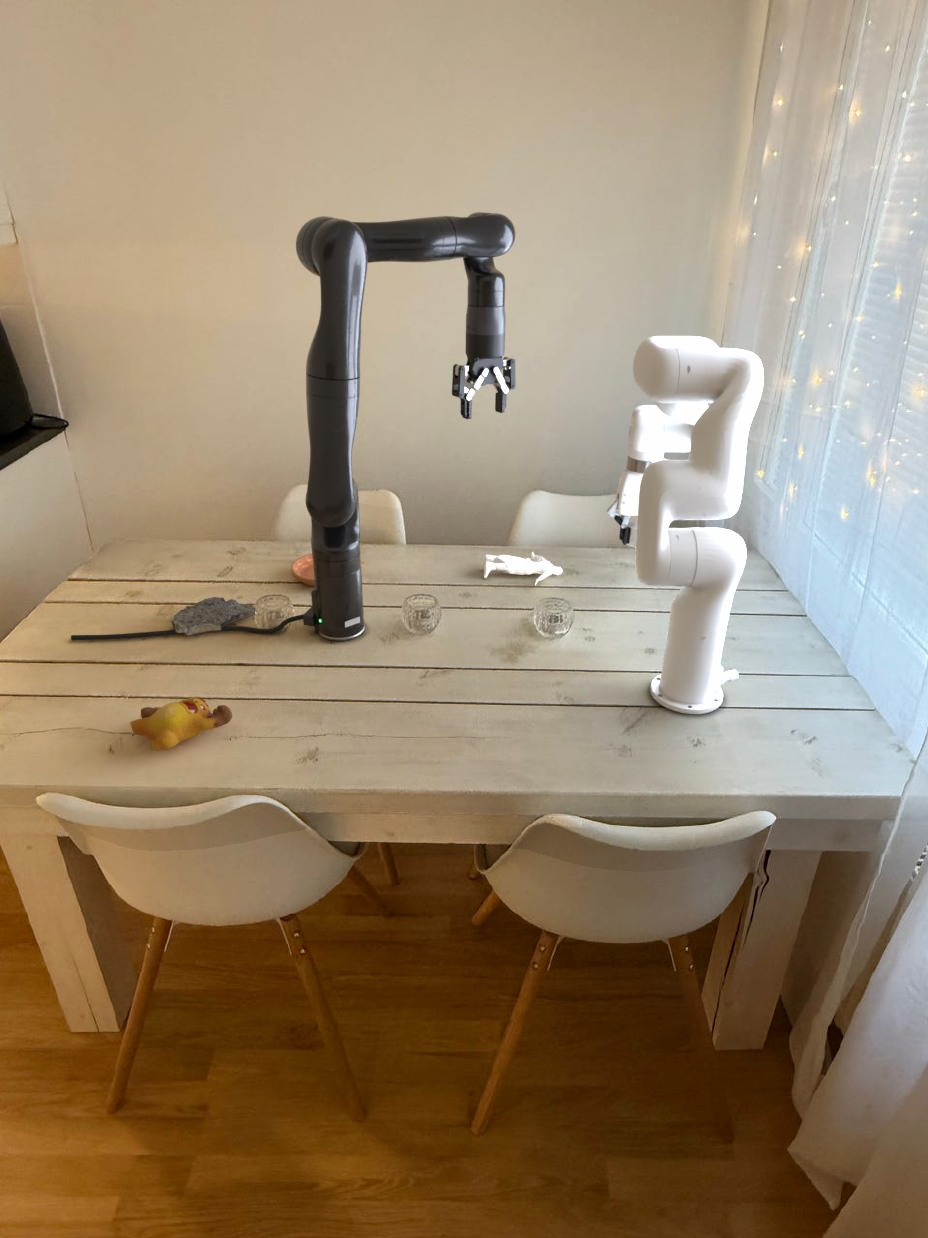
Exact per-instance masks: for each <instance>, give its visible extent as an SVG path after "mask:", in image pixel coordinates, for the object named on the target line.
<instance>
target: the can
mask: <svg viewBox="0 0 928 1238" xmlns="http://www.w3.org/2000/svg"><path fill="white" fill-rule="evenodd" d="M627 527H628V529H629V531H628V540H627V544H626V545H625V546H628V547H630V548H635V546H636V531H637V521H631V522H628V524H627Z"/></svg>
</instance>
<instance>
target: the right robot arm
mask: <svg viewBox="0 0 928 1238" xmlns="http://www.w3.org/2000/svg"><path fill="white" fill-rule="evenodd" d="M632 371H633V373H632V374H633V378H634V382H635V383H636V385H637V387H638V388H639V389H640V390H641V391H642V392H643V393H644V394H645V395H646V396H647V397H648V398H649V399H650V400H651V401H652V402H654V403H655V405H654V404H642V405H638V406H635V408H634V409H633V410H632V413H631V419H630V420H631V421H630V426H629V430H628V447H627V448H628V449H627V456H626V457H627V458H626V467H623V468H621V472H620V475H619V480H618V483H617V489H616V494H615V500H614V501H613V502H612V504H611V505H610V506H609V507H608V508H607V509H606V512H605V513H606V514H607V515H608V516H609V517H610V518H612V519H613V520H615V522H616V523H617V524H618V525H619V535H618V536H619V541H621V542H622V544H623V546H627V545H626V544H627V540H628V531H629V529H628V527H627V524H628V523H629V521H630V518H631V517H637V518H636V522H637V531H636V546H635V547H634V569H635V575H636V577H637V579H638V580H639V582H640V583H641V584H643V585H646V586H649V587H681V588H680V589H679V590H678V592H677V594H676V595H675V597H674V599H673V600H672V603H671V607H670V612H669V619H668V625H667V633H666V639H665V645H664V646H665V647H664V652H663V660H662V666H661V673H660V674H657V675H656V676H655V677H654V678H653V679H652V681H651V683H650V687H649V692H650V695H651V697H652V698H653V699H654V700H655V701H656V702H657V703H658V704H660V705H661V706H662V707H664V708H666V709H668V710H672V711H674V712H678V713H681V714H686V715H702V714H708V713H711V712H713V711H715V710H717V709H719V707H720V706H721V705H722V703H723V699H724V691H723V689H722V687H721V686H724V684H725V683H730V682H734V681H738V680H739V676H740V675H739V672H738V671H737V670H736V669H731V670H727V671H725V672H724V667H723V666H722V665H721V661H722V655H723V650H724V649H723V648H724V643H725V640H726V639H725V638H726V633H727V629H728V628H727V627H728V623H729V618H730V612H731V609H732V605H733V604H732V603H733V599H734V595H735V594H736V593H735V592H736V590H737V587H738V584H739V582H740V579H741V577H742V574H743V572H744V569H745V566H746V561H747V547H746V546H747V545H746V543H745V541H744V539H743V538H742V536H740V534H738V533H737V532H735V531H733V530H731V529H727V528H721V527H670V524H671V523H672V522H674V521H716V520H717V521H718V520H725V519H729V518H732V517H733V516H735V514H737V512H738V510H739V508H740V505H741V501H742V494H743V489H744V478H745V471H746V460H747V459H746V457H747V447H748V437H749V432H750V427H751V424H752V422H753V418H754V417H755V413H756V412H757V409H758V406H759V403H760V401H761V398H762V394H763V389H764V379H765V375H764V366H763V363H762V360H761V359H760V357H759V356H758V355H757V354H755V353H754V352H752V351H750V350H747V349H741V348H731V347H719V346H718V345H717V343H716V342H714V341H713V340H712V339H709V338H708V337H704V336H698V335H653V336H649V337H646V338H645V339H644V340H642V342H641V343H640V344H639V345H638V347H637V348H636V351H635V354H634V357H633V364H632ZM708 404H710V405H708ZM665 453H689V455H688V458H687V459H668V458H665V457H664V455H665ZM616 511H618V513H617V512H616Z"/></svg>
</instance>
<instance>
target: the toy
mask: <svg viewBox="0 0 928 1238" xmlns="http://www.w3.org/2000/svg"><path fill="white" fill-rule="evenodd" d="M140 717H141V718H139V719H134V720H131V721H130V722H129V724H130V728H131V731H132V732H133V734H136V735H138V736H144V737H146V738H147V739H149V740H150V741H151V742H152V743H151V746H152V749H153V750H154V751H166V750H170V749H172V748H174V747H176V746H177V745H178V744H180V743H181V742H183V741H184V742H185V741H186V740H190V739H192V738H194V737H196V736H198V735H199V734H200V733H202V732H204V731H210V730H214V729H217V728H220V727H222V726H224V725H227V724H228V723H230V722H231V720H232V718H233V712H232V710H231V708H230V706H227V705H225V704H219V705H217V706H216V708H214V709H213V711H212V712H211V707H210V706H209V704H208V703H207V701H206V700H205V699H203V698H201V697H196V698H195V697H188V698H186V699H181V700H179V701H175V702H171V703H167V704H165V705H163V706H160V707H159V706H158V707H155V706H154V707H151V706H145V707H142V708H141V709H140Z"/></svg>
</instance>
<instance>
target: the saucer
mask: <svg viewBox="0 0 928 1238" xmlns="http://www.w3.org/2000/svg"><path fill="white" fill-rule="evenodd" d="M361 566H362V563H361ZM290 572H291V575H292V576H293V577H294V578H295V579H297V580H298V581H299V582H301V583H302V584H304V585H306V586H308V587H312V588H313V587H314V588H315V582H314V570H313V559H312V552H311V553H308V554H305V555H302V556H300V557H298V558H296V559H294V561H293V562H292V563H291V565H290Z"/></svg>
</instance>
